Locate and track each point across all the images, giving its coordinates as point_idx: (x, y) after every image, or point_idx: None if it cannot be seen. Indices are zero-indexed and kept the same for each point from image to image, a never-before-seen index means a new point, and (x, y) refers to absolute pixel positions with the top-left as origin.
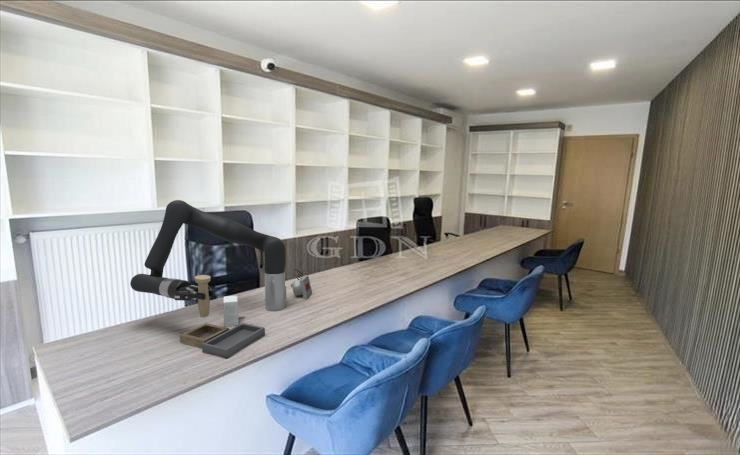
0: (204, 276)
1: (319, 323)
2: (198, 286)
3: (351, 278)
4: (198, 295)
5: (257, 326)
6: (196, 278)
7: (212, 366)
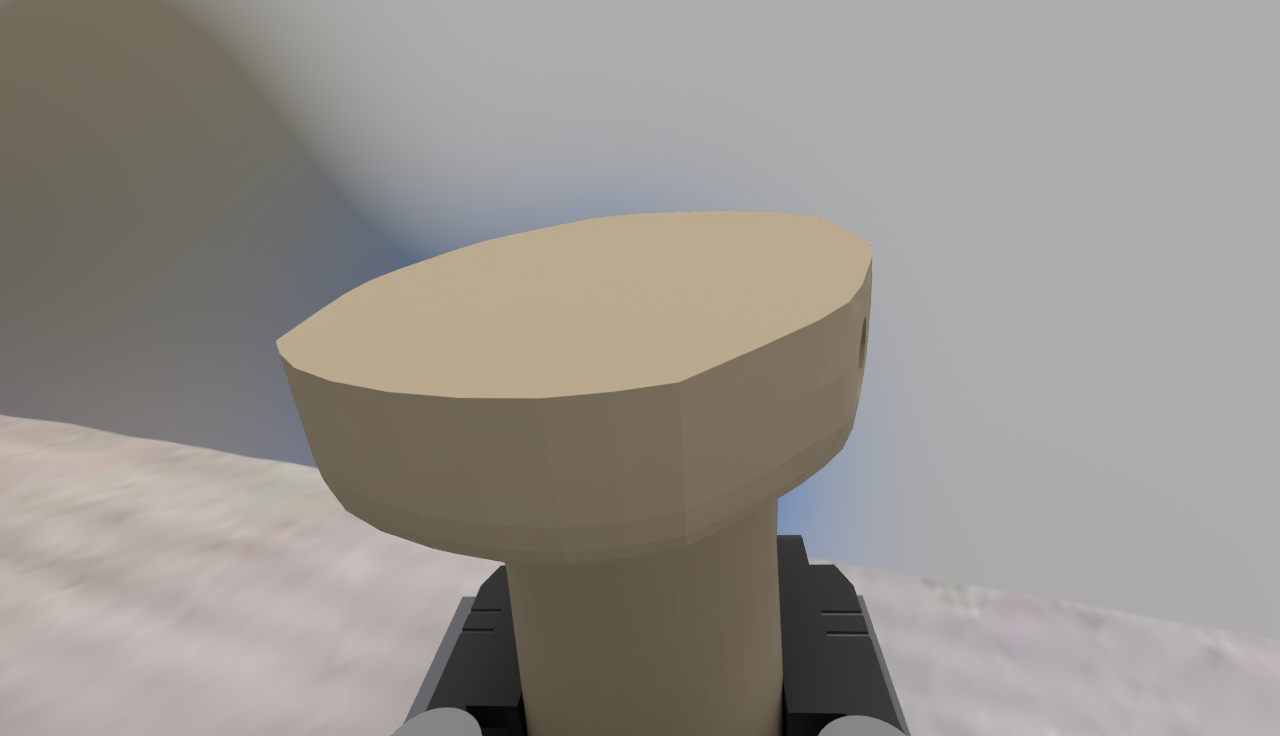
0: (520, 272)
1: (298, 498)
2: (774, 551)
3: None
4: (867, 632)
5: (444, 648)
6: (850, 267)
7: (982, 651)
